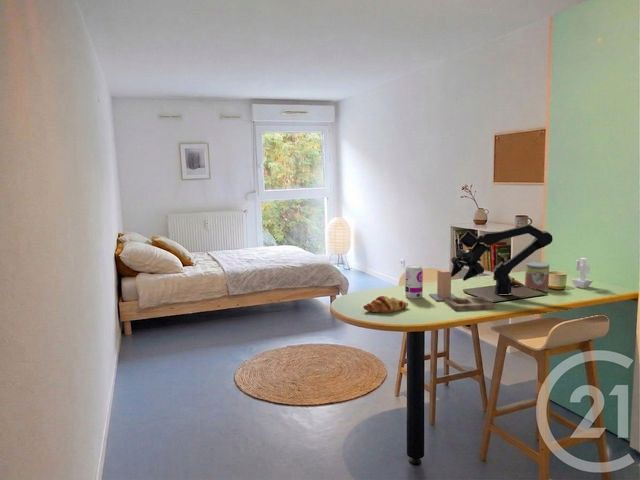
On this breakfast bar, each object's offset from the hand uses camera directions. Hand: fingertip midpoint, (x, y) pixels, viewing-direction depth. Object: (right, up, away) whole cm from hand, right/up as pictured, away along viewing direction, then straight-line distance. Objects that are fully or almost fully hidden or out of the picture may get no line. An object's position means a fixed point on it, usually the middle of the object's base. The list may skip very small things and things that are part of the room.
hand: (457, 278), depth 237 cm
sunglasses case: (+35, -5, +26) cm, 44 cm away
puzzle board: (+1, -11, -15) cm, 19 cm away
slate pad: (-7, -9, -1) cm, 12 cm away
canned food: (+45, -6, +16) cm, 48 cm away
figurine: (+68, -6, +14) cm, 69 cm away
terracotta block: (-7, -8, -1) cm, 11 cm away
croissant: (-37, -13, -19) cm, 44 cm away
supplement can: (-21, -9, +2) cm, 23 cm away
